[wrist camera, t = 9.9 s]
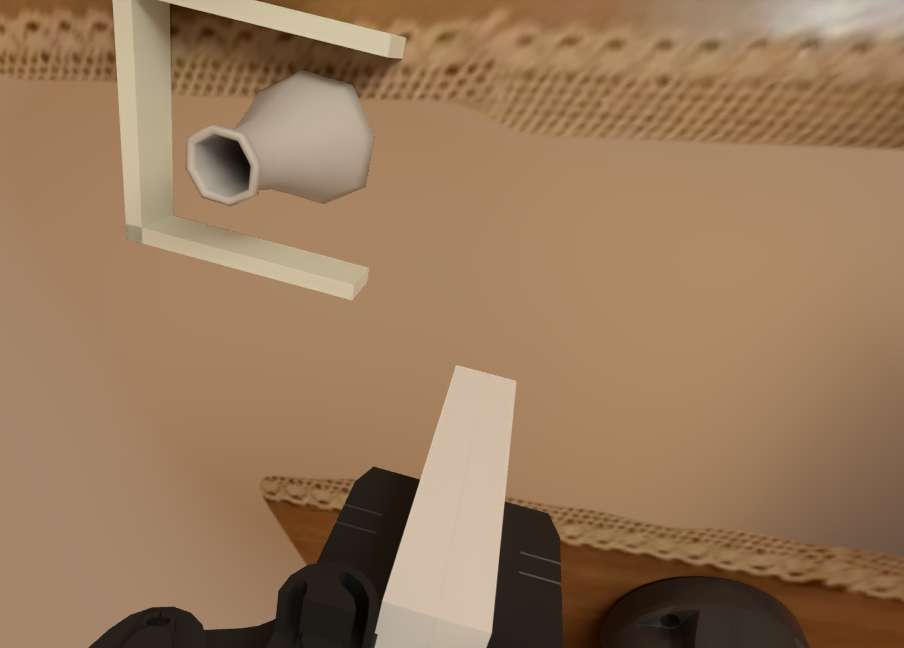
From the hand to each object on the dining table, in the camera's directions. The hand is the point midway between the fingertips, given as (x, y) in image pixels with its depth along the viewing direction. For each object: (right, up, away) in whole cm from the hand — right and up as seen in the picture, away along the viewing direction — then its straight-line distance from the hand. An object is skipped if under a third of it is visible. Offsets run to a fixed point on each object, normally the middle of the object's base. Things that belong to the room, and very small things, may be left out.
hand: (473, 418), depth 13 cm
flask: (-8, +13, +18) cm, 23 cm away
